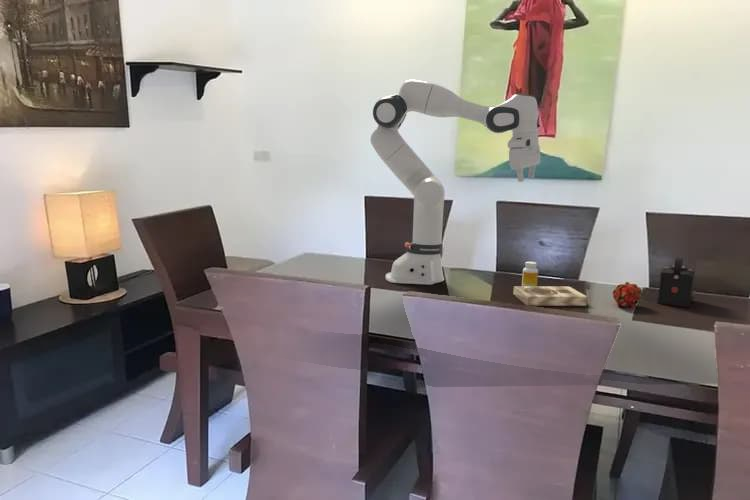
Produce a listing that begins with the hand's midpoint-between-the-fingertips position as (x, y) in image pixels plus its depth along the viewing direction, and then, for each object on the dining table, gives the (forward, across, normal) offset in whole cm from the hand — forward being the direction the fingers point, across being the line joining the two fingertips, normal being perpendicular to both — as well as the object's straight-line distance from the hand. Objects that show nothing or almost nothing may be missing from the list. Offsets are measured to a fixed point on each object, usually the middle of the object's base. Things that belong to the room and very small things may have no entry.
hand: (526, 179), depth 204 cm
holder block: (+39, +16, +14) cm, 44 cm away
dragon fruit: (+41, +7, +36) cm, 55 cm away
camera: (+44, -11, +48) cm, 66 cm away
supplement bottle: (+39, +5, +2) cm, 40 cm away
